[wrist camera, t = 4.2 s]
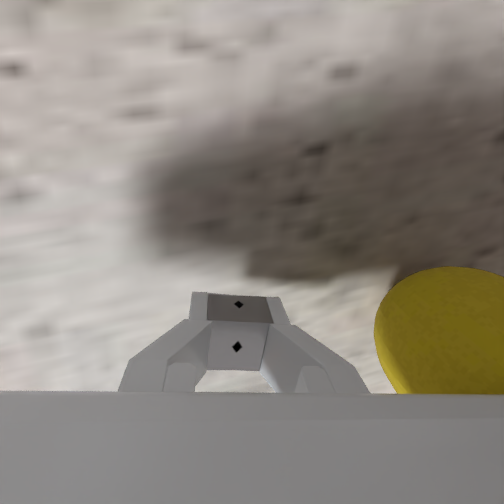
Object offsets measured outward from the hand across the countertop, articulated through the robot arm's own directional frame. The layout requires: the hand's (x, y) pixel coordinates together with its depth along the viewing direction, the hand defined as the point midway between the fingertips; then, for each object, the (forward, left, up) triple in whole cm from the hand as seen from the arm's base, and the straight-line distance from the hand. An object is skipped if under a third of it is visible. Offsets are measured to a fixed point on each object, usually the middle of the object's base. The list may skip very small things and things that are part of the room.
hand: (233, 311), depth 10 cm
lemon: (0, +8, -2) cm, 8 cm away
